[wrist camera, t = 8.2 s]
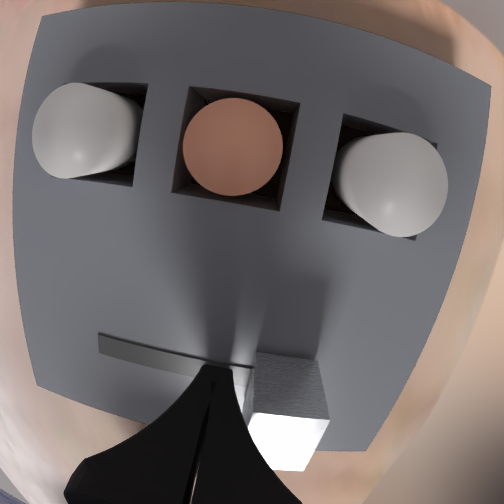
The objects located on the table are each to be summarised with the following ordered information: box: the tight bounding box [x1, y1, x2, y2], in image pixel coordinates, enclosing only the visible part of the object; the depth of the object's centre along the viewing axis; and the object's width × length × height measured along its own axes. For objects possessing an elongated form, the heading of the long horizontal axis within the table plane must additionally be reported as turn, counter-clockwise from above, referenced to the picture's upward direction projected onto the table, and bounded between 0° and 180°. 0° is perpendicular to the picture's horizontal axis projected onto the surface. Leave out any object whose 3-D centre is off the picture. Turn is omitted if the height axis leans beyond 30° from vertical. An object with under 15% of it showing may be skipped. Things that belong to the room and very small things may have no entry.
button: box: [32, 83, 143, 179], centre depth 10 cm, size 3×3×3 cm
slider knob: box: [242, 352, 330, 471], centre depth 11 cm, size 2×3×3 cm
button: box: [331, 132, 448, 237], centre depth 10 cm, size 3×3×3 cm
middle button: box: [183, 98, 283, 196], centre depth 11 cm, size 3×3×3 cm
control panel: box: [13, 2, 491, 451], centre depth 12 cm, size 18×18×3 cm
